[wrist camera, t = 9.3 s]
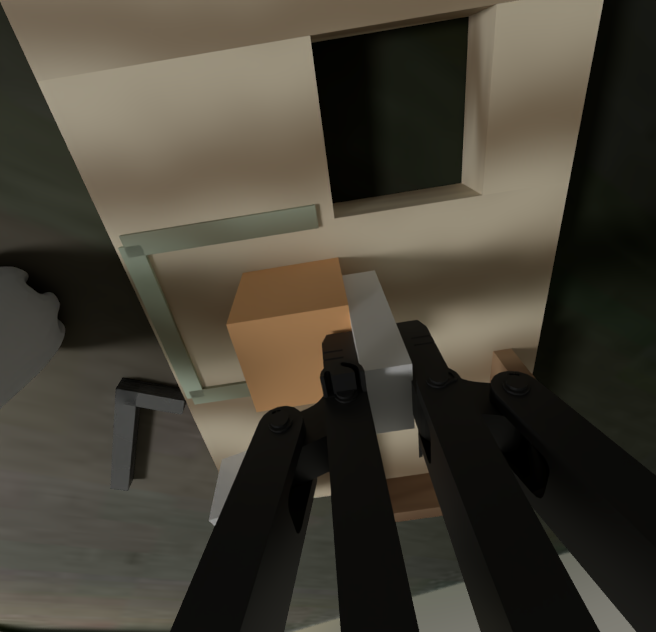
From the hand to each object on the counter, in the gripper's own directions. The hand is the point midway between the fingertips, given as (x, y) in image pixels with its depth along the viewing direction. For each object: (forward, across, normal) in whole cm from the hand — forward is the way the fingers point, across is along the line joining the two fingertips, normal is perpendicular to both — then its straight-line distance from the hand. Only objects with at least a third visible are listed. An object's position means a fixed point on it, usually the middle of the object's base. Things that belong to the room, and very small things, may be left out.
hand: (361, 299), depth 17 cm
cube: (+1, -3, -1) cm, 3 cm away
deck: (+4, 0, -2) cm, 4 cm away
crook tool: (+4, -15, -10) cm, 19 cm away
